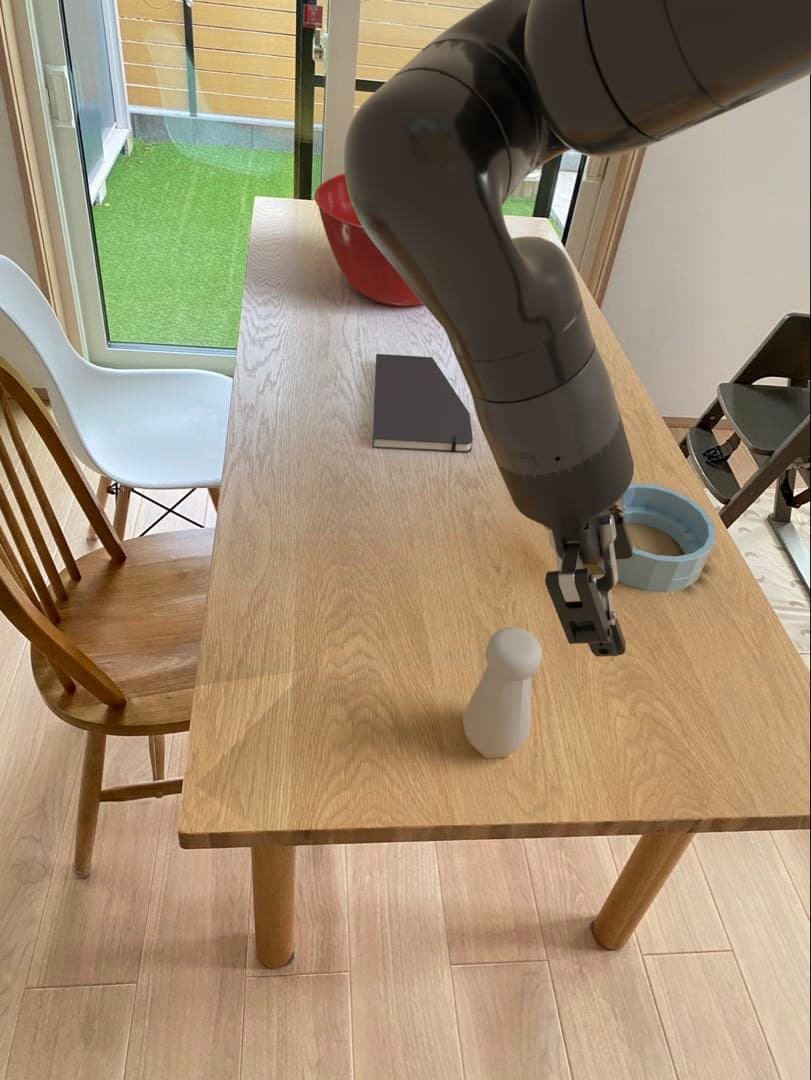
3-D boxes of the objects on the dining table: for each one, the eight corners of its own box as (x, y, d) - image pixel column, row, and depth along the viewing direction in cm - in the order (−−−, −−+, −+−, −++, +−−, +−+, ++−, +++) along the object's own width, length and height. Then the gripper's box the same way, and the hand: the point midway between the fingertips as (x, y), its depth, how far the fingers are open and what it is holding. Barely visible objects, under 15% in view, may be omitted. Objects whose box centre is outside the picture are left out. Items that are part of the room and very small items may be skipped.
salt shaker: (536, 732, 69) (567, 636, 61) (507, 780, 66) (535, 685, 57) (478, 700, 72) (500, 603, 63) (447, 745, 68) (465, 649, 59)
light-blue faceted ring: (721, 590, 85) (741, 549, 80) (617, 611, 81) (633, 570, 77) (659, 515, 93) (674, 475, 89) (563, 532, 90) (574, 491, 86)
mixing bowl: (330, 333, 120) (331, 233, 110) (304, 257, 141) (302, 166, 130) (503, 325, 127) (519, 229, 116) (454, 252, 147) (464, 165, 136)
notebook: (375, 363, 115) (372, 448, 99) (376, 353, 114) (372, 438, 98) (461, 368, 116) (471, 453, 100) (463, 358, 114) (473, 443, 99)
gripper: (608, 506, 39) (667, 686, 49) (626, 340, 48) (672, 522, 58) (468, 522, 42) (550, 688, 52) (509, 364, 51) (572, 532, 61)
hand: (614, 600), depth 55 cm, fingers open, 8 cm apart
